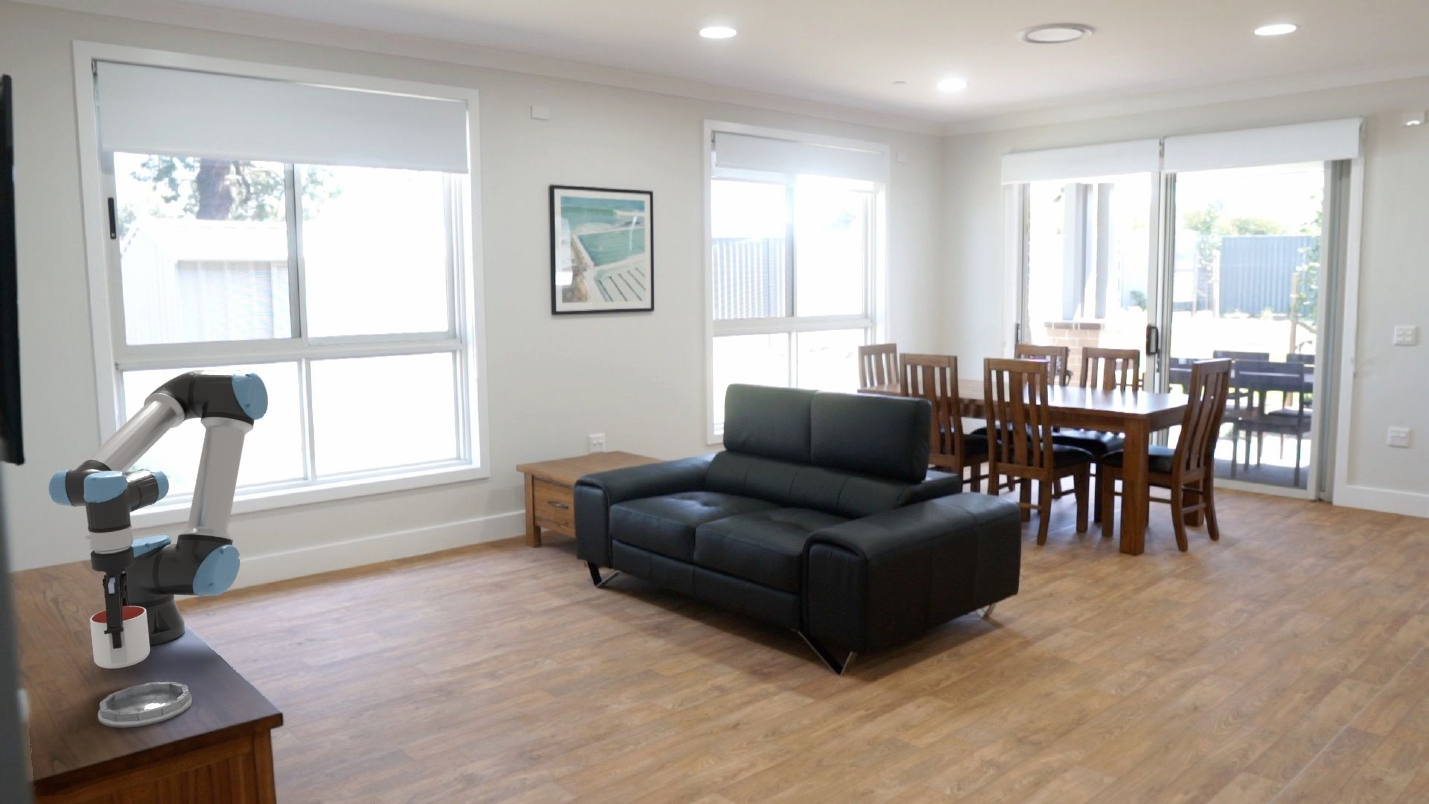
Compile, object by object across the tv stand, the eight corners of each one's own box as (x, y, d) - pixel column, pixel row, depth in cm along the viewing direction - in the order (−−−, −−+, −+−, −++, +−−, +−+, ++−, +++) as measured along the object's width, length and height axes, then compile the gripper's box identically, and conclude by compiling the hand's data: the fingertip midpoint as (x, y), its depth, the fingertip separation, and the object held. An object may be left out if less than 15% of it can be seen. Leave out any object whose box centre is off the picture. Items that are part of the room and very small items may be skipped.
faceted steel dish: (123, 694, 206) (122, 682, 205) (205, 691, 207) (204, 679, 207) (81, 729, 190) (80, 716, 190) (170, 726, 191) (169, 713, 191)
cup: (138, 647, 217) (134, 602, 215) (158, 659, 210) (154, 613, 209) (86, 662, 209) (81, 615, 207) (106, 675, 203) (101, 627, 201)
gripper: (96, 535, 214) (107, 636, 218) (82, 566, 194) (94, 676, 198) (137, 531, 217) (147, 630, 221) (127, 561, 197) (138, 669, 201)
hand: (122, 652), depth 209 cm, fingers closed on cup, 10 cm apart
